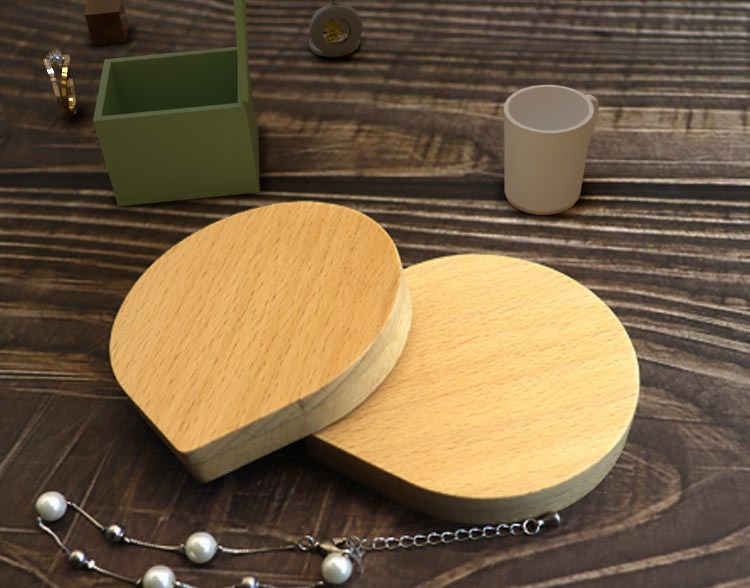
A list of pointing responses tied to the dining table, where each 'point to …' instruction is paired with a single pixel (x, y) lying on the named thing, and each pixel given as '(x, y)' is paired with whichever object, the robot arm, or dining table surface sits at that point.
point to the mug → (546, 147)
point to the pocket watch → (335, 30)
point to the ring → (67, 82)
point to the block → (107, 22)
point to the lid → (242, 47)
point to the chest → (177, 127)
